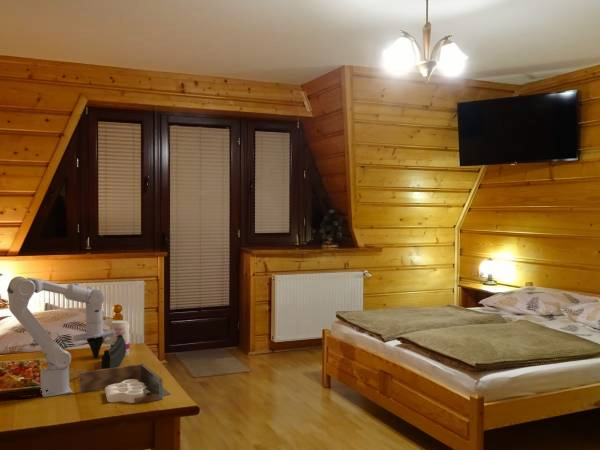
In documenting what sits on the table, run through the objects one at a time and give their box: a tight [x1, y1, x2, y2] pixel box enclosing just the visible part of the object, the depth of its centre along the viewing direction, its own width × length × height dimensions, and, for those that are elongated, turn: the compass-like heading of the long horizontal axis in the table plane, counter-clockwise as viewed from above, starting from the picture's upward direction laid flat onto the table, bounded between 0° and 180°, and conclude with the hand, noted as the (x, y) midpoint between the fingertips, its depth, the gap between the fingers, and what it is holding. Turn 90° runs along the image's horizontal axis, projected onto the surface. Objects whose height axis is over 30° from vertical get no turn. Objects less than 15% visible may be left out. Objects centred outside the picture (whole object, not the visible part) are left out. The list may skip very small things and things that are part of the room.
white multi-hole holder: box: [104, 379, 151, 404], centre depth 205 cm, size 3×18×15 cm
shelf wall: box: [79, 363, 159, 405], centre depth 204 cm, size 23×23×7 cm
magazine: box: [100, 335, 126, 370], centre depth 239 cm, size 17×3×30 cm
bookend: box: [141, 363, 172, 401], centre depth 211 cm, size 5×23×7 cm, turn 31°
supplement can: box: [109, 319, 131, 358], centre depth 260 cm, size 8×8×15 cm
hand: (95, 357), depth 217 cm, fingers closed
